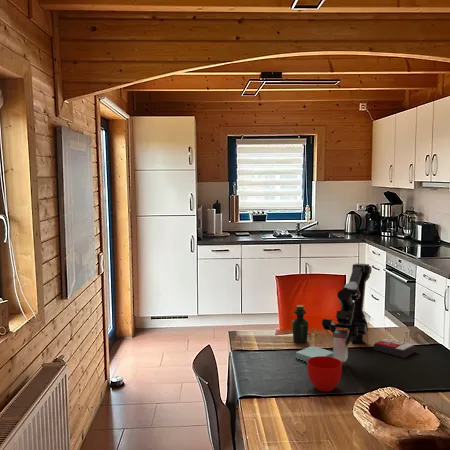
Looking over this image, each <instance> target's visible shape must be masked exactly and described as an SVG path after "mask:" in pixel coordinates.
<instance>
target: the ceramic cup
mask: <svg viewBox="0 0 450 450" xmlns="http://www.w3.org/2000/svg"><path fill="white" fill-rule="evenodd" d="M306 363H307V364H306V365H307V373H308V377H309V380H310V382H311V384H312V385H313V386H314V387H315V389H316V390H318V391H320V392H331V391H333V390H334V389H335V388H336V387H337V386H338V385H339V383H340V381H341V377H342V372H343V362H342V361H340V360H338V359H336V358H333V357H327V356H317V357H312V358H310V359H309V360H308V362H306Z"/></svg>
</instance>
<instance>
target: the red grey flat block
mask: <svg viewBox="0 0 450 450" xmlns="http://www.w3.org/2000/svg"><path fill="white" fill-rule="evenodd" d="M373 350H374V351H377V352H380V351H381V353H383V354H384V353H385V354H387V353H388V355H391V356H392V355H393V356H395V357H398V356H399V358H401V357H402V359H405V358H407V357H409V356H411V355H413V354H415V353H416V345H415V344H413V343H409V342H406V341H402V340H401V341H400V340H395V339H392V338H391V339H390V338H384V339H382V340H378V341H377V342H374V344H373ZM414 352H415V353H414ZM412 353H413V354H412ZM410 354H411V355H410ZM408 355H409V356H408ZM404 357H405V358H404Z"/></svg>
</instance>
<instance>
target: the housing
mask: <svg viewBox="0 0 450 450" xmlns="http://www.w3.org/2000/svg"><path fill="white" fill-rule="evenodd" d="M348 335H349V330H345V329H337V328H336V330H335V331H334V332H333V333H332V342H333V343H332V345H333V346H332V348H333V350H332V352H333V358H336V359H338V360H340V361H341V362H342V363H346V361H347V360H348V358H349V357H348V356H349V349H348V348H349V344H348V345H346V343H347V338H348Z"/></svg>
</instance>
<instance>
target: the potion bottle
mask: <svg viewBox="0 0 450 450" xmlns="http://www.w3.org/2000/svg"><path fill="white" fill-rule="evenodd" d="M295 307H296V309H295V310H294V314H296V318H294V319H293V320H292V321H291V328H292V339H293V342H294V344H299V345H302V344H306V343H307V342H308V333H309V324H310V323H309V321H307V319H306V318H304V317H305V315H306V314H307V310H305V309H304V308H305V305H303V304H297V305H296V306H295Z"/></svg>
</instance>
